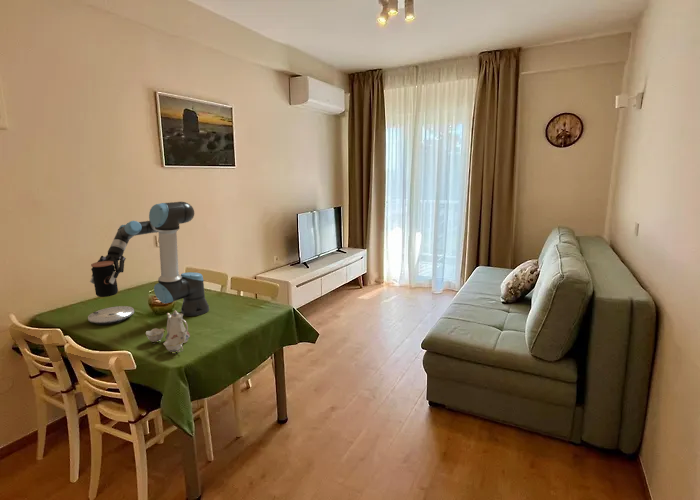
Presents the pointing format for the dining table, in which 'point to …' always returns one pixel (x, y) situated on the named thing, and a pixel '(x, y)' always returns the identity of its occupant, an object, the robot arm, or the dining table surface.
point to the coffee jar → (104, 278)
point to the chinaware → (171, 332)
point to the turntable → (110, 314)
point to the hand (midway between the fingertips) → (101, 282)
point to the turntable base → (111, 322)
